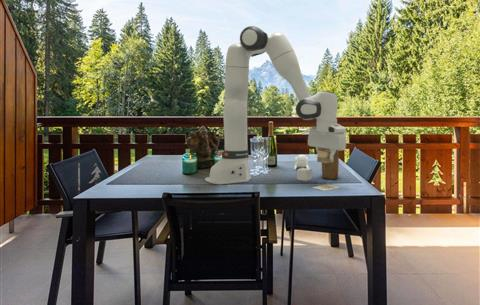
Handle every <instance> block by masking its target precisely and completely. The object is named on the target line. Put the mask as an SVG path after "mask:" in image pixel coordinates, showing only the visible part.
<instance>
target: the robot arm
mask: <svg viewBox="0 0 480 305" xmlns="http://www.w3.org/2000/svg"><path fill="white" fill-rule="evenodd" d="M295 52H296V51H295V50H294V48H293V46H292V45H291V43H290V41H289V39H288V38H287V37H286V35H285V34H283V33H281V32H274V33H272V34H269V35H268V33H266V32H265V31H264V30H262V29H261V28H259V27H257V26H253V25H250V26H246V27H244V28H243V29H242V30H241V32H240V35H239V43H237V42H236V43H232V44H231V45H230V46H228V49H227V51H226V58H225V67H224V68H225V69H224V70H225V71H224V72H225V73H224V105H223V108H222V109H223V110H222V112H223V115H222V116H223V134H224V150H223V151H221V150H219V151H217V155H218V156H221V158H220V159H219V160H218V161H216V162H215V163H214V165H212V166H211V167H210V172H209V176H208V177H205V178H204V180H205V182H207V183H209V184H214V185H227V184H235V183H236V184H237V183H248V182H250V180H251V179H252V176H251V173H250V168H249V167H250V166H249V149H248V94H249V92H248V91H249V76H250V75H249V74H250V72H249V71H250V70H249V69H250V59H251V57H252V58H253V57H256V56H259V55H262V54H264V53H266V54H267V56H268V57H269V59H270V62H271V63H272V65H273V67H274V69H275V71H276V72H277V74H278V75H279V76H280V77H281V78H282V79H284V80H285V81H286V82H287V83H288V84H289V85H290V86H291V88H292V90H293V92H294V94H295V96H296V98H297V100H298V102H297V104H296V106H295V112H296V115H297V117H298V118H301V119H302V120H304V121H305V120H306V121H309V120H310V121H312V120H315V119H316V126H311V127H310V129H309V132H308V136H307V146H308V147H314V148H315V151H316V153H318V151H319V150H322V148H326V149H330V152H331V153H330V155H328V159H333V155H334V154H335V152H336V150H339V151H344V150H346V148H347V135H346V134H345V133H346V132H347V128H346V127H345V126H343V125H341V124H339V123H338V118H337V114H338V107H339V106H338V96H337V94H336V93H334V92H332V91H328V90H319V91H318V92H317V93H316V94H313V95H312V94H311V92H310V90H309V87H308V86H307V84H306V82H305V80H304V78H303V73H302V71H301V67H300V62H299V61H298V57H297V54H296V53H295Z"/></svg>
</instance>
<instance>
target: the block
mask: <svg viewBox="0 0 480 305" xmlns="http://www.w3.org/2000/svg"><path fill="white" fill-rule="evenodd" d="M321 150H329V151H330V149H326V148H321ZM339 153H340V150H336V152H335V154H334V155H333V162H330V163H322V162H321V172H322V173H321V175H322V178H324V179H327V180H335V179H337V178H339V165H340V164H339V163H340V162H339V161H340V156H339V155H340V154H339Z"/></svg>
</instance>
